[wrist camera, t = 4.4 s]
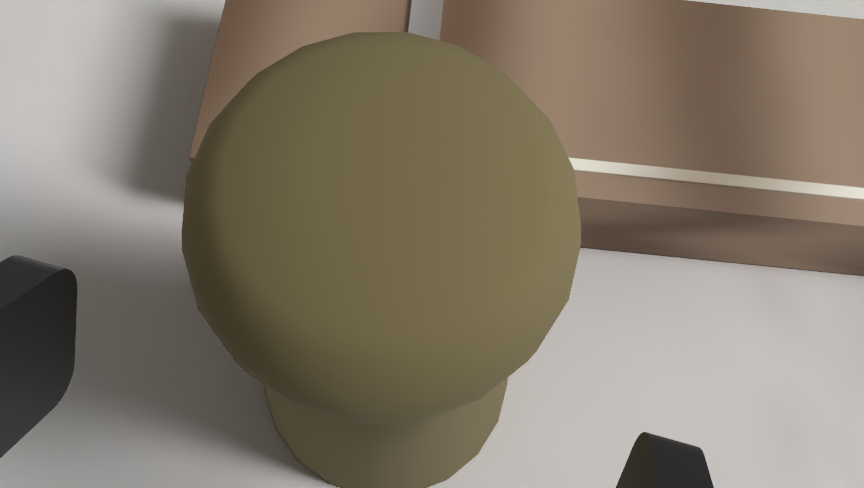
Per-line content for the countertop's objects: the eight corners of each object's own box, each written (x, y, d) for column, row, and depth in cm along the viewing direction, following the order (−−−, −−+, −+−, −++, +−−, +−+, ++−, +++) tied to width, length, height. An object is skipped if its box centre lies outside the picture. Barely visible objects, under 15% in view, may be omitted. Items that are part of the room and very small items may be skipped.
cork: (552, 416, 18) (757, 267, 8) (332, 547, 17) (248, 561, 7) (432, 218, 20) (477, -108, 10) (224, 322, 19) (28, 67, 9)
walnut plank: (217, 210, 20) (187, 154, 17) (256, 26, 22) (235, -51, 19) (1098, 299, 20) (1217, 259, 17) (1050, 109, 23) (1148, 46, 20)
